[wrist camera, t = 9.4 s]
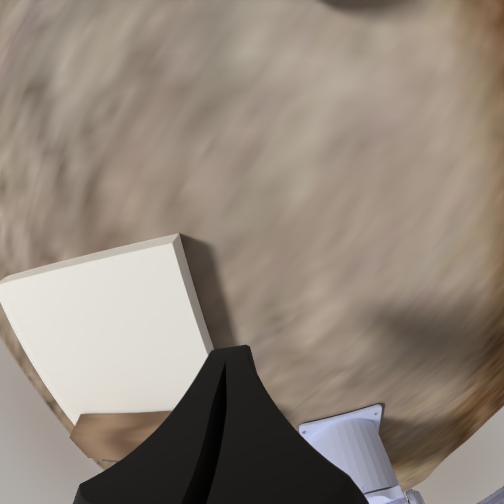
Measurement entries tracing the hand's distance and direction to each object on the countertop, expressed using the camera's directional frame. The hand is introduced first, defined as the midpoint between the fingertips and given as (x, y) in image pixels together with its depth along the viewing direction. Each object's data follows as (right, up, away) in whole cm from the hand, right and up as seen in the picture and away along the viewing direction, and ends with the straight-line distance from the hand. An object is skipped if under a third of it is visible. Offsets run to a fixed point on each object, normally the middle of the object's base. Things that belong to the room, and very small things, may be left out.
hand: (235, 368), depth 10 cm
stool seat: (-10, -5, +11) cm, 16 cm away
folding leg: (-8, -10, +11) cm, 17 cm away
